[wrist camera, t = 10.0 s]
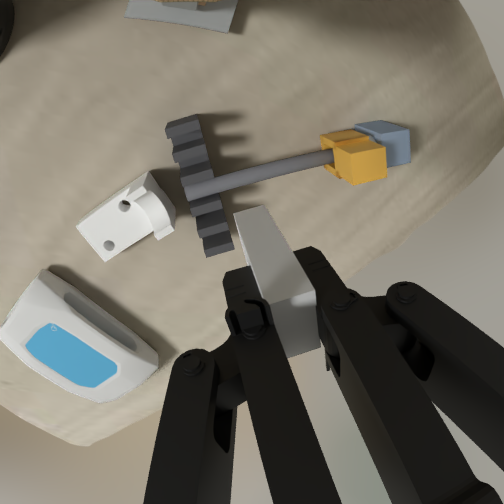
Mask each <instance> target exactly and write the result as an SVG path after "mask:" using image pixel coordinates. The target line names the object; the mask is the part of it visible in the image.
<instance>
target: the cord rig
mask: <svg viewBox="0 0 504 504" xmlns="http://www.w3.org/2000/svg"><path fill="white" fill-rule="evenodd" d="M355 131H357V132H359V133H362V134H365V135H367V136H369V140H371V141H373V142H375V143H378V144H380V145H382V146H385V147H386V162H387V168H388V167H392V166H397V165H401V164H406V163H411V157H410V132H409V129H406V128H403V127H400V126H397V125H394V124H391V123H388V122H385V121H382V120H380V121H373V122H367V123H360V124H355ZM165 132H166V135H167V139H169V138H171V140H172V143H173V146H174V147H173V152H172V155H173V158H174V161H175V163H177V162H179V166H180V180H181V183H182V186H183V187H184V190H185V194H186V197H187V200H188V202H190V211H191V214H192V217H195V216H196V224H197V232H198V234H199V237H200V238H202V239H203V247H204V252H205V255H206V258H207V257H210V256H214V255H217V254H220V253H224V252H227V251H231V250H234V249H235V248H234V245H233V241H232V238H231V235H230V231H229V227H228V224H227V221H226V217H225V214H224V210H223V206H222V203H221V199H220V196H219V192H222V191H226V190H229V189H233V188H236V187H240V186H244V185H247V184H251V183H255V182H258V181H262V180H266V179H270V178H273V177H277V176H281V175H285V174H289V173H293V172H297V171H301V170H305V169H309V168H314V167H318V166H322V165H326V164H331V163H335V162H334V154H333V148H330V149H326V150H321V151H317V152H312V153H308V154H303V155H299V156H295V157H291V158H286V159H282V160H278V161H274V162H270V163H266V164H262V165H258V166H255V167H251V168H247V169H243V170H240V171H236V172H232V173H229V174H225V175H222V176H218V177H215V178H214V174H213V171H212V167H211V164H210V161H209V157H208V154H207V149H206V146H205V142H204V139H203V135H202V132H201V127H200V124H199V120H198V117H197V114H195V115H191V116H188V117H184V118H181V119H178V120H175V121H171V122H168V123H167V126H166V128H165Z"/></svg>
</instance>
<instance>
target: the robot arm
mask: <svg viewBox="0 0 504 504" xmlns="http://www.w3.org/2000/svg"><path fill="white" fill-rule="evenodd" d="M13 22H14V7H13V3H12V1H11V0H0V55H1V54H2V52H3V50H4V49H5V47H6V45H7V42H8V40H9V37H10V35H11V31H12V28H13ZM233 215H234V218H235V222H236V226H237V229H238V233H239V237H240V240H241V244H242V248H243V251H244V255H245V259H246V262H247V265H248V266H246V267H242V268H239V269H235V270H232V271H229V272H226V273H225V276H224V279H223V281H222V282H223V287H224V291H225V296H226V301H227V306H228V309H227V310H226V312H225V319H226V322H227V324H228V327H229V330H230V332H231V335H230V336H229V338H228V340H227V341H226V342H225V343H224V344H222V345H221V346H219V347H218V348H216V349H215V350H213V351H211V352H208V351H206V350H204V349H192V350H188V351H186V352H185V353H183V354H181V355H180V356H179V357H178V358H177V359H176V360H175V362H174V365H173V367H172V371H171V375H170V379H169V383H168V387H167V392H166V396H165V400H164V405H163V409H162V414H161V418H160V423H159V427H158V432H157V436H156V441H155V446H154V451H153V456H152V461H151V465H150V471H149V477H148V481H147V486H146V492H145V497H144V503H143V504H230V500H231V486H232V473H233V459H234V444H235V432H236V418H237V406H238V405H240V404H242V403H243V402H245V401H247V403H248V407H249V411H250V415H251V419H252V423H253V427H254V432H255V435H256V439H257V443H258V447H259V451H260V455H261V459H262V462H263V467H264V470H265V474H266V478H267V482H268V485H269V489H270V493H271V496H272V500H273V504H342V503H341V500H340V497H339V495H338V492H337V490H336V487H335V484H334V482H333V479H332V476H331V474H330V471H329V469H328V466H327V463H326V461H325V458H324V455H323V453H322V450H321V447H320V445H319V442H318V439H317V437H316V434H315V431H314V429H313V426H312V423H311V421H310V418H309V415H308V413H307V410H306V407H305V405H304V402H303V400H302V397H301V394H300V391H299V389H298V386H297V383H296V381H295V378H294V376H293V373H292V370H291V367H290V365H289V362H288V360H287V358H290V357H293V356H296V355H299V354H302V353H305V352H308V351H311V350H314V349H317V348H320V347H321V343H320V339H321V341H322V343H323V345H324V347H325V358H326V368H327V371H329V370H330V368H331V370H332V372H333V374H334V377H335V378H336V380H337V383H338V385H339V387H340V389H341V391H342V394H343V396H344V398H345V400H346V402H347V404H348V406H349V409H350V411H351V413H352V415H353V417H354V419H355V422H356V424H357V426H358V428H359V430H360V433H361V435H362V437H363V439H364V442H365V444H366V446H367V448H368V450H369V453H370V455H371V457H372V459H373V462H374V464H375V466H376V468H377V470H378V473H379V475H380V477H381V479H382V482H383V484H384V486H385V488H386V491H387V493H388V495H389V498H390V500H391V502H392V504H503V503H502V501H501V499H500V497H499V495H498V494H497V492H496V491H495V489H494V488H493V487H491V486H490V485H489V484H487V483H484V482H481V481H479V480H478V479H477V478H476V477H475V475H474V474H473V472H472V470H471V468H470V466H469V465H468V463H467V461H466V459H465V457H464V456H463V454H462V452H461V450H460V448H459V447H458V445H457V443H456V441H455V440H454V438H453V436H452V435H451V433H450V431H449V429H448V428H447V426H446V424H445V423H444V421H443V419H442V418H441V416H440V414H439V413H438V411H437V410H436V408H435V406H434V405H433V403H434V404H435V405H436V406H437V407H438V408H439V409H440V410H441V411H442V412H443V413H445V415H447V416H448V417H449V418H450V419H451V420H452V421H453V422H454V423H455V424H456V425H457V426H458V427H459V428H460V429H461V430H462V431H463V432H464V433H465V434H466V435H467V436H468V437H469V438H470V439H471V440H472V441H474V443H475V444H476V445H477V446H479V448H481V450H483V452H485V453H486V454H487V455H488V456H489V457H490V458H491V459H492V460H493V461H494V462H495V463H496V464H497V465H498V466H499V467H500V468H501V469H502V470H503V471H504V348H503V347H502V346H501V345H500V344H498V343H497V342H496V341H494V340H493V339H492V338H490V337H489V336H488V335H487V334H485V333H484V332H483V331H481V330H480V329H479V328H477V327H476V326H475V325H473V324H472V323H471V322H469V321H468V320H467V319H465V318H464V317H463V316H461V315H460V314H459V313H457V312H456V311H454V310H453V309H452V308H450V307H449V306H448V305H446V304H445V303H443V302H442V301H440V300H439V299H438V298H436V297H435V296H434V295H432V294H431V293H429V292H428V291H426V290H425V289H424V288H422V287H421V286H419V285H417V284H415V283H412V282H407V281H405V282H398V283H395V284H393V285H392V286H391V287H389V289H388V290H387V294H386V296H376V297H363V296H361V295H360V294H358V293H357V292H356V291H354V290H352V289H348V288H347V287H346V286H345V284H344V283H343V282H342V280H341V279H340V277H339V276H338V274H337V273H336V272H335V270H334V269H333V267H332V266H331V265H330V263H329V262H328V260H326V258H325V256H324V255H323V254H322V252H321V251H320V250H318V249H316V248H314V247H312V246H310V247H306V248H303V249H300V250H296V251H292V250H291V248H290V246H289V245H288V243H287V241H286V240H285V238H284V236H283V235H282V233H281V231H280V230H279V228H278V226H277V225H276V223H275V221H274V220H273V218H272V216H271V215H270V213H269V212H268V210H267V208H266V207H265V205H261V206H258V207H254V208H250V209H247V210H243V211H240V212H236V213H233ZM432 402H433V403H432Z"/></svg>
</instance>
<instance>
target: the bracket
mask: <svg viewBox="0 0 504 504" xmlns="http://www.w3.org/2000/svg"><path fill="white" fill-rule="evenodd" d="M122 200H126V201H128V202H129V203H130V205H125V204H123V202H122ZM175 214H176V208H175V206H174V205H173V204H172V202H171V201H170V199H169V198H168V196H167V195H166V193H165V192H164V190H163V189H162V190H161V188H160V187H159V185H158V184H157V182H156V181H155V179H154V178H153V176H152V175H151V173H150V172H149V171H147V172H146V173H144V174H143V175H141V176H140V177H138V178H137V179H135V180H134V181H132V182H131V183H130V184H128V185H127V186H125V187H124V188H122V189H121V190H119V191H118V192H117V193H115V194H114V195H112V196H111V197H110V198H108V199H107V200H105V201H104V202H103V203H101V204H100V205H99V206H97V207H96V208H94V209H93V210H92V211H90V212H89V213H88V214H87V215H85V216H84V217H83V218H81V219H80V221H79V222H78V224H77V225H76V228H77V229H78V230H79V232H80V233H81V234H82V235H83V236H84V238H85V239H86V240H87V241H88V243H89V244H90V245H91V246H92V247H93V249H94V250H95V251H96V252H97V253H98V255H99V256H100V257H101V258H102V259H103V260H104V262H106V261H108V260H109V259H111V258H112V257H114V256H115V255H117V254H118V253H120V252H121V251H123V250H124V249H126V248H127V247H129V246H130V245H132V244H134V243H135V242H137V241H138V240H140V239H141V238H143V237H145V236H146V235H148V234H149V233H151V232H152V231H154V236H155V237H156V238H157V240H160V239H161V238H163V237H165V236H166V235H168V234H170V233H171V232H173V231H174V230H175Z"/></svg>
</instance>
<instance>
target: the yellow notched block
mask: <svg viewBox="0 0 504 504" xmlns="http://www.w3.org/2000/svg"><path fill="white" fill-rule="evenodd" d="M320 140H321V146H322V150H326V149H330V148H333V154H334V162H335V163H331V164H326V165H324V168H325V169H326V170H328V171H329V172H331V173H332V174H333V175H335V176H336V177H338V178H339V179H341V178H343V179H345V180H346V181H348V182H349V183H350V184H352V185H357V184H361V183H365V182H369V181H374V180H378V179H382V178H386V177H387V162H386V147H385V146H382V145H380V144H378V143H375V142H373V141H371V140H369V136H367V135H365V134H362V133H359V132H357V131H354V130H352V129H350V130H344V131H339V132H334V133H329V134H323V135H320Z"/></svg>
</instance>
